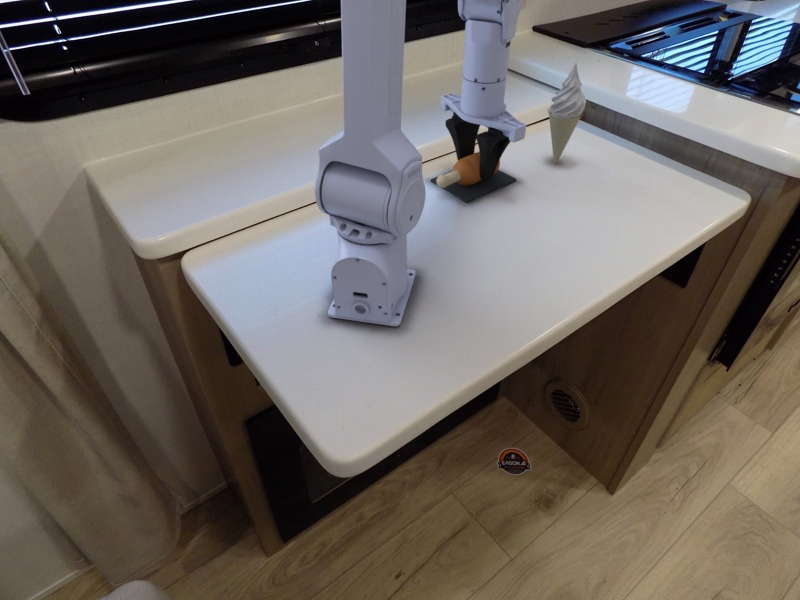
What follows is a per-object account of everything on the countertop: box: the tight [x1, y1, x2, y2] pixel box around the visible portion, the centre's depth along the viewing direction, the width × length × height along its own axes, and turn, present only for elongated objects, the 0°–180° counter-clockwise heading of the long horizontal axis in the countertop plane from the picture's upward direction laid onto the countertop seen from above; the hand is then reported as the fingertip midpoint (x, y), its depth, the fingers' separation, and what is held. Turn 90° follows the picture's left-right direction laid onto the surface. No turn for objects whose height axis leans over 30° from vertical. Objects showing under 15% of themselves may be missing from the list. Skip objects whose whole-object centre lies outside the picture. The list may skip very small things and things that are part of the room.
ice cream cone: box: [547, 63, 587, 164], centre depth 78 cm, size 5×5×15 cm
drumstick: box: [436, 151, 501, 189], centre depth 77 cm, size 11×4×4 cm, turn 128°
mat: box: [430, 169, 517, 204], centre depth 79 cm, size 10×8×1 cm
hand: (476, 171), depth 78 cm, fingers closed on drumstick, 4 cm apart
